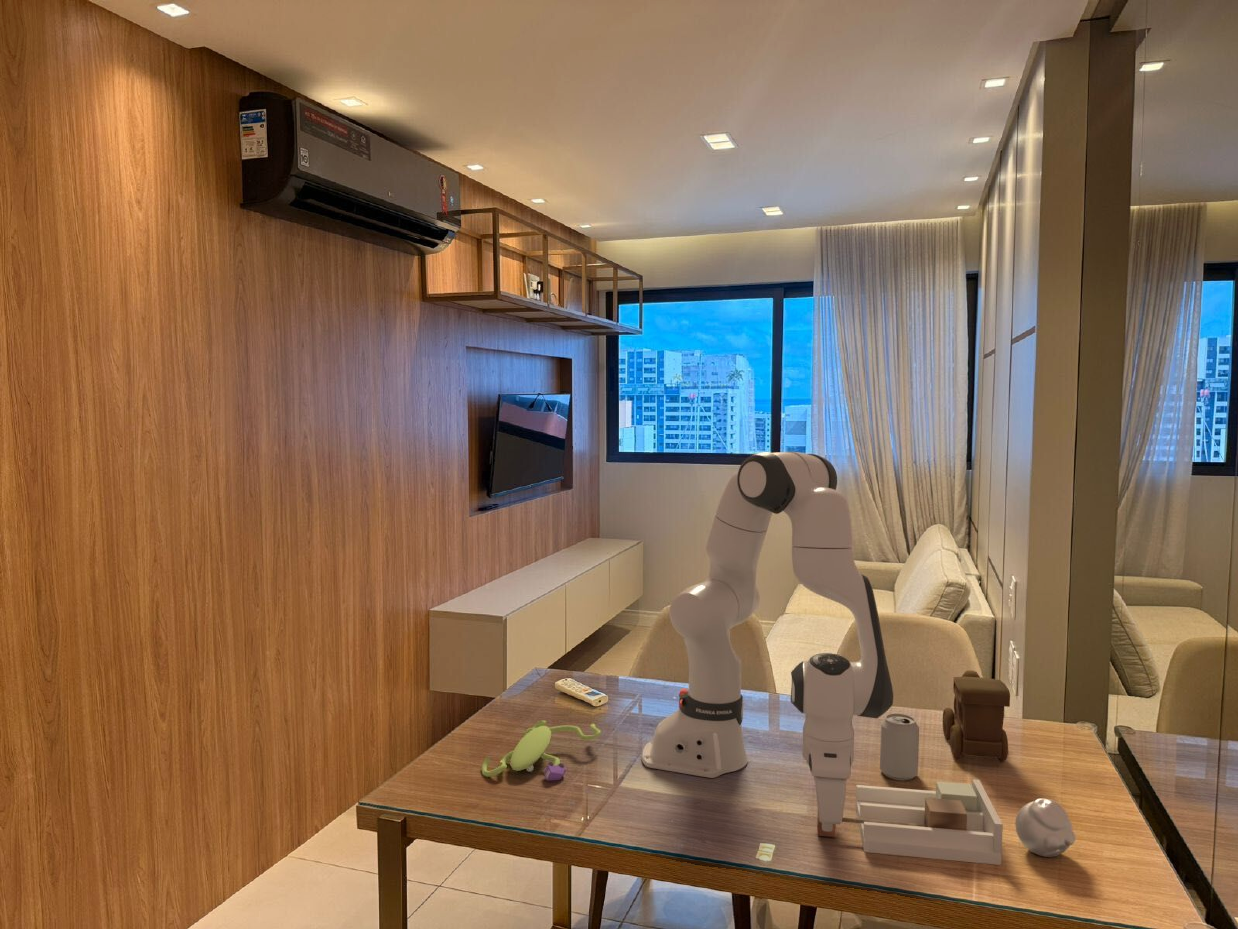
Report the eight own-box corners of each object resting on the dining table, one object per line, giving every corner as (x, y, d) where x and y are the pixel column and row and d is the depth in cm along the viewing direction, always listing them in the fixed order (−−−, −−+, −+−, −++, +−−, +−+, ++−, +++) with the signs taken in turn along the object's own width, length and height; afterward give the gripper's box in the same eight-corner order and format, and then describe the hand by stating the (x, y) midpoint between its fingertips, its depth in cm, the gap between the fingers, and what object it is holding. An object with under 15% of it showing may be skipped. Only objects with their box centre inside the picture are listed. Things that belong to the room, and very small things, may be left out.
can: (920, 784, 174) (922, 726, 173) (881, 780, 175) (883, 723, 174) (915, 768, 181) (917, 712, 180) (878, 765, 182) (879, 709, 181)
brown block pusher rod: (818, 839, 151) (818, 801, 151) (816, 825, 156) (817, 789, 155) (965, 852, 147) (967, 814, 146) (959, 838, 152) (961, 800, 151)
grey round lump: (1014, 862, 144) (1017, 804, 144) (1014, 836, 153) (1016, 781, 152) (1075, 874, 141) (1078, 815, 140) (1071, 846, 149) (1073, 791, 149)
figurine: (609, 745, 193) (610, 721, 193) (550, 794, 169) (550, 767, 169) (538, 731, 201) (538, 708, 201) (472, 777, 177) (471, 750, 176)
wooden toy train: (1012, 771, 179) (1015, 693, 178) (954, 766, 182) (956, 689, 180) (991, 735, 199) (994, 664, 198) (939, 730, 201) (941, 661, 200)
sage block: (940, 820, 154) (941, 793, 154) (935, 807, 159) (936, 781, 159) (975, 823, 153) (976, 796, 153) (969, 810, 158) (970, 784, 158)
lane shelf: (864, 852, 147) (865, 812, 147) (855, 805, 164) (856, 770, 163) (1001, 865, 143) (1002, 824, 143) (977, 816, 160) (979, 779, 160)
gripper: (807, 725, 163) (805, 796, 164) (812, 771, 143) (810, 851, 144) (841, 727, 162) (839, 799, 163) (851, 774, 142) (849, 855, 143)
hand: (826, 824), depth 153 cm, fingers open, 3 cm apart
